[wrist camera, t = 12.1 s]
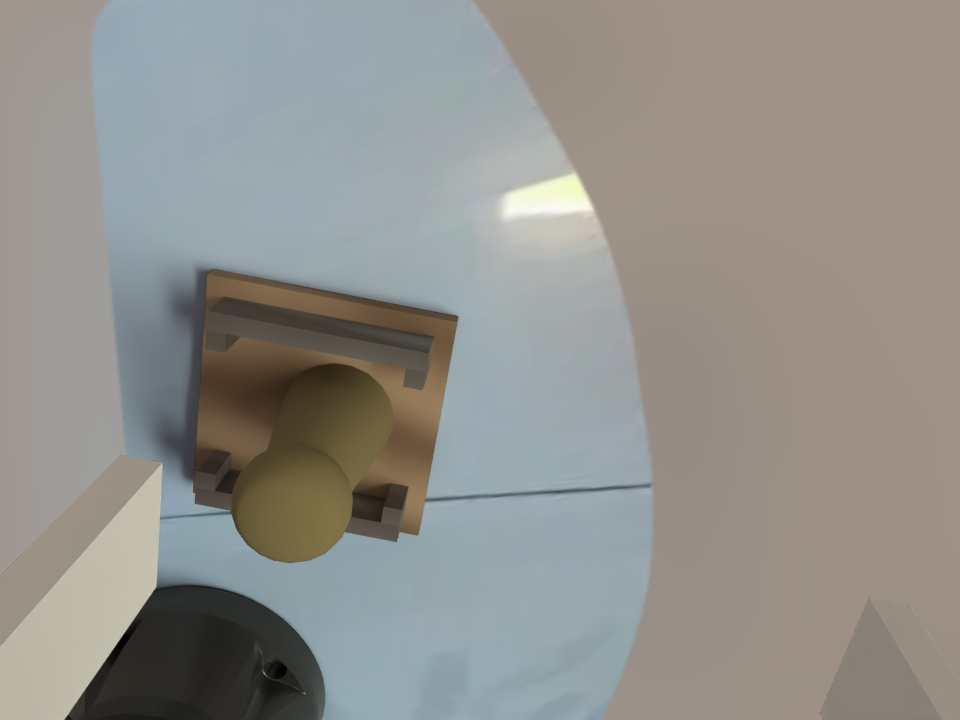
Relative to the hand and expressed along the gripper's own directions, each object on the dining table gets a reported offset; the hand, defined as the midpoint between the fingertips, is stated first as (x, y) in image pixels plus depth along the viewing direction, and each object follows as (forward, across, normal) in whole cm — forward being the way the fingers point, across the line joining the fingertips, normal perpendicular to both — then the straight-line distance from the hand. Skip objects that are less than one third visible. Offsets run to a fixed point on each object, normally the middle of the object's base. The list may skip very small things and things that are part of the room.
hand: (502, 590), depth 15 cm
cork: (+28, +8, +11) cm, 31 cm away
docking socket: (+29, +9, +11) cm, 32 cm away
